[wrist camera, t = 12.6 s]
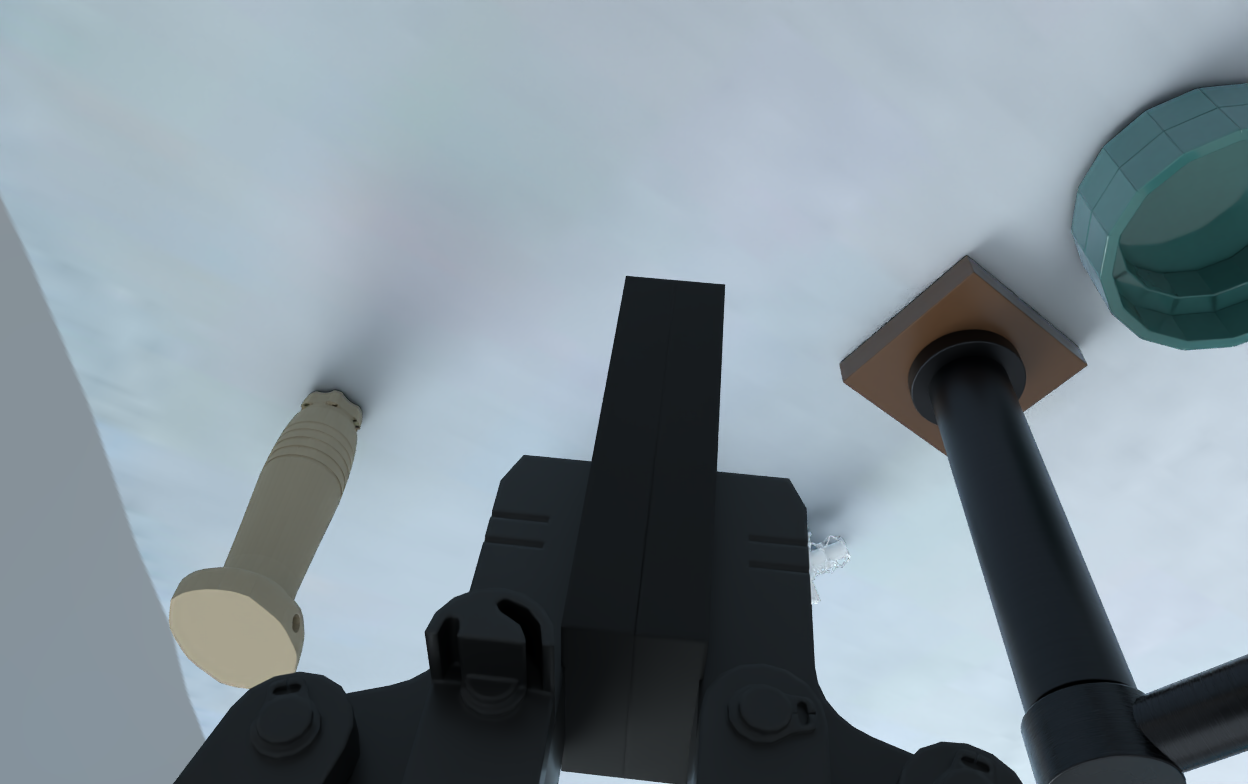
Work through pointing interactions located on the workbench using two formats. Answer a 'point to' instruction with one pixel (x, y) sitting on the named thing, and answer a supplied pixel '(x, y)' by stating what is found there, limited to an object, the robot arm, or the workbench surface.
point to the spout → (1138, 729)
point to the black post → (998, 464)
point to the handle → (270, 552)
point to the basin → (1173, 221)
